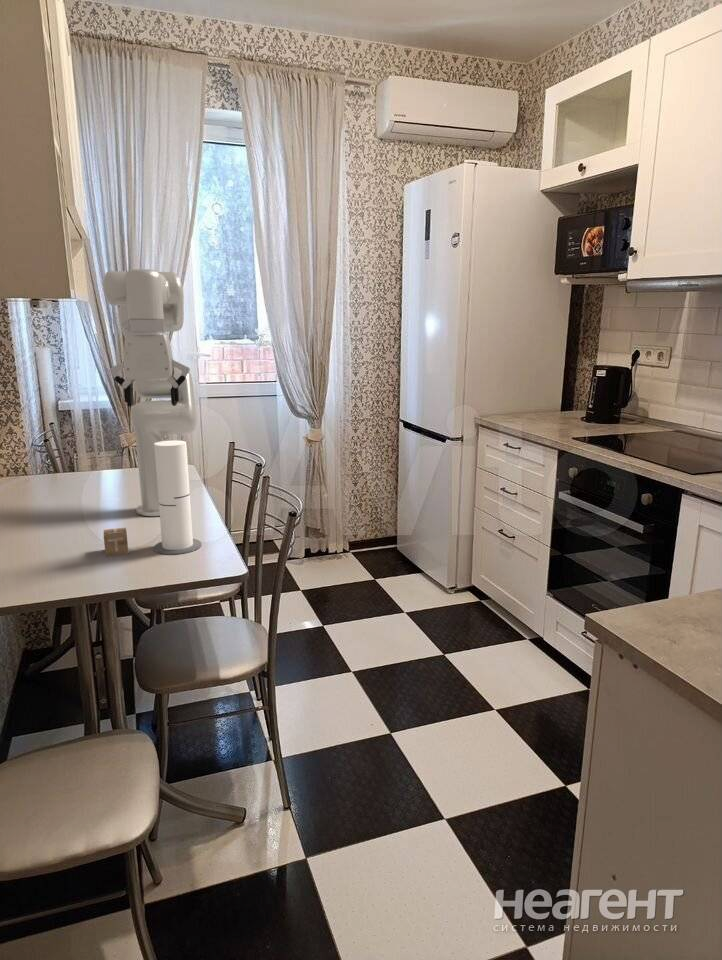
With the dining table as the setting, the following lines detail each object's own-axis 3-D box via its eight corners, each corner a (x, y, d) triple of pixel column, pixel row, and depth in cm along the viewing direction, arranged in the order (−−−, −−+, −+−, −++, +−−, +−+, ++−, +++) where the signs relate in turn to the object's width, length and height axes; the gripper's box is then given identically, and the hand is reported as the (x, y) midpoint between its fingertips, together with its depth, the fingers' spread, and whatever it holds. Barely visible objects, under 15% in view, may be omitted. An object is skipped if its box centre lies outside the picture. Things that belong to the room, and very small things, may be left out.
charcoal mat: (166, 538, 160) (165, 537, 160) (208, 540, 159) (207, 538, 158) (146, 553, 149) (145, 551, 149) (190, 555, 148) (190, 554, 148)
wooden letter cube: (105, 549, 152) (103, 529, 151) (127, 547, 154) (126, 526, 153) (105, 556, 148) (103, 535, 146) (128, 554, 149) (126, 533, 148)
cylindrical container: (196, 546, 153) (189, 444, 147) (166, 551, 149) (158, 446, 143) (188, 538, 159) (181, 439, 153) (159, 543, 155) (151, 442, 150)
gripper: (101, 328, 136) (108, 408, 140) (184, 328, 138) (189, 406, 142) (110, 328, 144) (117, 404, 148) (189, 328, 146) (193, 403, 149)
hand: (152, 405), depth 145 cm, fingers open, 9 cm apart
